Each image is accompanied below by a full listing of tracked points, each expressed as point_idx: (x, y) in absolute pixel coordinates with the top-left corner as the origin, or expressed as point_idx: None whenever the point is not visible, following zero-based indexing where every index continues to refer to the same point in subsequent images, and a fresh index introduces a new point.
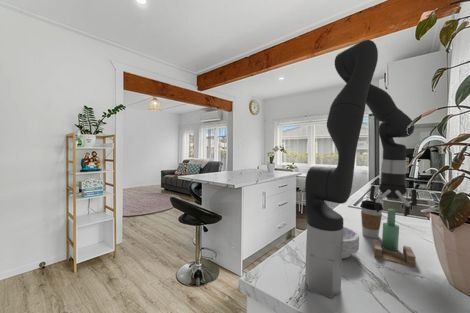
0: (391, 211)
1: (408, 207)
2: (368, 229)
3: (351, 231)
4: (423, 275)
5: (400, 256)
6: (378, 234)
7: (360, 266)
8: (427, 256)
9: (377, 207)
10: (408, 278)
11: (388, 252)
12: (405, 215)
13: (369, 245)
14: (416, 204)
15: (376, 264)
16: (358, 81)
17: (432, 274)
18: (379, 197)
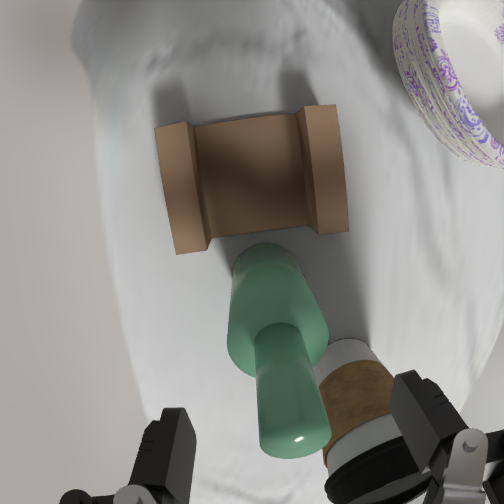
0: (299, 410)
1: (140, 480)
2: (365, 358)
3: (471, 106)
4: (145, 80)
5: (220, 194)
6: (314, 372)
7: (353, 9)
8: (130, 287)
9: (432, 397)
10: (196, 20)
11: (270, 204)
12: (175, 409)
13: (349, 242)
14: (63, 497)
15: (307, 51)
16: None
17: (116, 115)
18: (476, 490)
